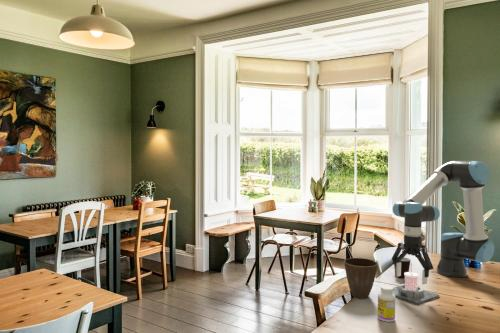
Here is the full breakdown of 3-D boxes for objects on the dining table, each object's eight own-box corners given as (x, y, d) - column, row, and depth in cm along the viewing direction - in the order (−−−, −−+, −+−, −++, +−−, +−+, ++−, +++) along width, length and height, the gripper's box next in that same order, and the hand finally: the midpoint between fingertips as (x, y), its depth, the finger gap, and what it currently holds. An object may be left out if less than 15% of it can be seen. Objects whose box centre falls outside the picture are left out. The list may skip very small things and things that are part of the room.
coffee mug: (411, 280, 206) (412, 261, 206) (394, 278, 208) (395, 260, 208) (407, 273, 218) (407, 256, 218) (391, 272, 220) (391, 255, 219)
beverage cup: (414, 290, 187) (414, 261, 187) (420, 294, 181) (420, 265, 181) (401, 290, 187) (402, 261, 187) (407, 295, 181) (407, 265, 181)
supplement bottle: (374, 315, 159) (375, 284, 158) (390, 315, 159) (391, 284, 159) (381, 322, 152) (382, 290, 152) (397, 322, 153) (398, 290, 152)
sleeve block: (404, 286, 197) (405, 279, 197) (439, 297, 182) (439, 289, 182) (382, 292, 186) (382, 285, 186) (417, 304, 172) (417, 297, 171)
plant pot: (359, 304, 171) (360, 268, 171) (336, 293, 185) (337, 259, 184) (383, 298, 178) (384, 264, 178) (360, 288, 191) (361, 256, 191)
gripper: (385, 231, 191) (383, 274, 192) (433, 241, 171) (431, 288, 172) (394, 230, 196) (393, 271, 196) (442, 239, 175) (441, 285, 176)
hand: (411, 279), depth 184 cm, fingers open, 13 cm apart
